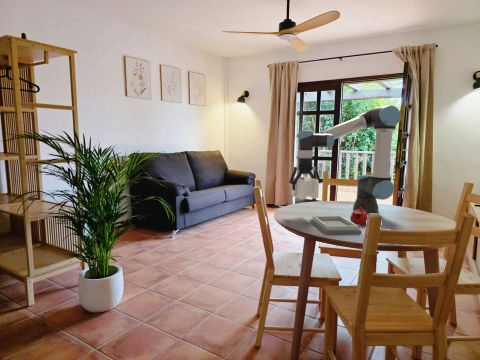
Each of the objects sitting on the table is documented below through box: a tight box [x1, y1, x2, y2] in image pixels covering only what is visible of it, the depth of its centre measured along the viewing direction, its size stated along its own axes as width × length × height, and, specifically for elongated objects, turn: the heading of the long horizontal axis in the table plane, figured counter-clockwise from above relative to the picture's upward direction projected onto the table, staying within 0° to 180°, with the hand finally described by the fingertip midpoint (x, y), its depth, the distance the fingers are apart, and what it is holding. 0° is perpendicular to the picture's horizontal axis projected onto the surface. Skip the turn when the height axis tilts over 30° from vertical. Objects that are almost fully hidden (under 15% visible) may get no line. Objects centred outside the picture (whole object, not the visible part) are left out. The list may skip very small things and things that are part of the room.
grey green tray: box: [309, 215, 362, 235], centre depth 158 cm, size 18×22×4 cm
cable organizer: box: [290, 176, 320, 201], centre depth 178 cm, size 15×11×12 cm
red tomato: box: [349, 207, 369, 226], centre depth 166 cm, size 10×10×9 cm
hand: (304, 195), depth 179 cm, fingers closed on cable organizer, 11 cm apart
